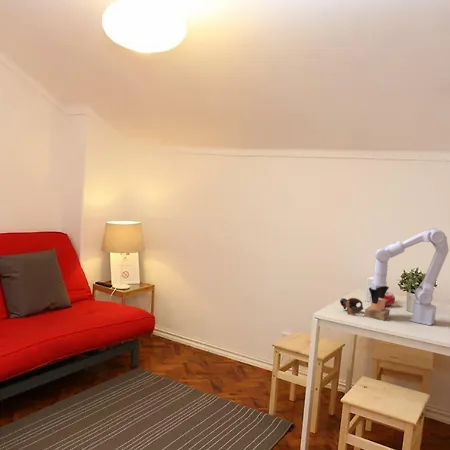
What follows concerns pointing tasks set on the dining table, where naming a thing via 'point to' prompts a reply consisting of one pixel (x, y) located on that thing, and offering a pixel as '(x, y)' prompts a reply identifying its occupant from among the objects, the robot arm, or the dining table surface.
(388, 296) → the soda can
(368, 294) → the supplement box
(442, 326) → the dining table surface
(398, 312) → the dining table surface
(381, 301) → the terracotta block
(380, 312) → the light tan wooden block
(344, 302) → the pottery mug
